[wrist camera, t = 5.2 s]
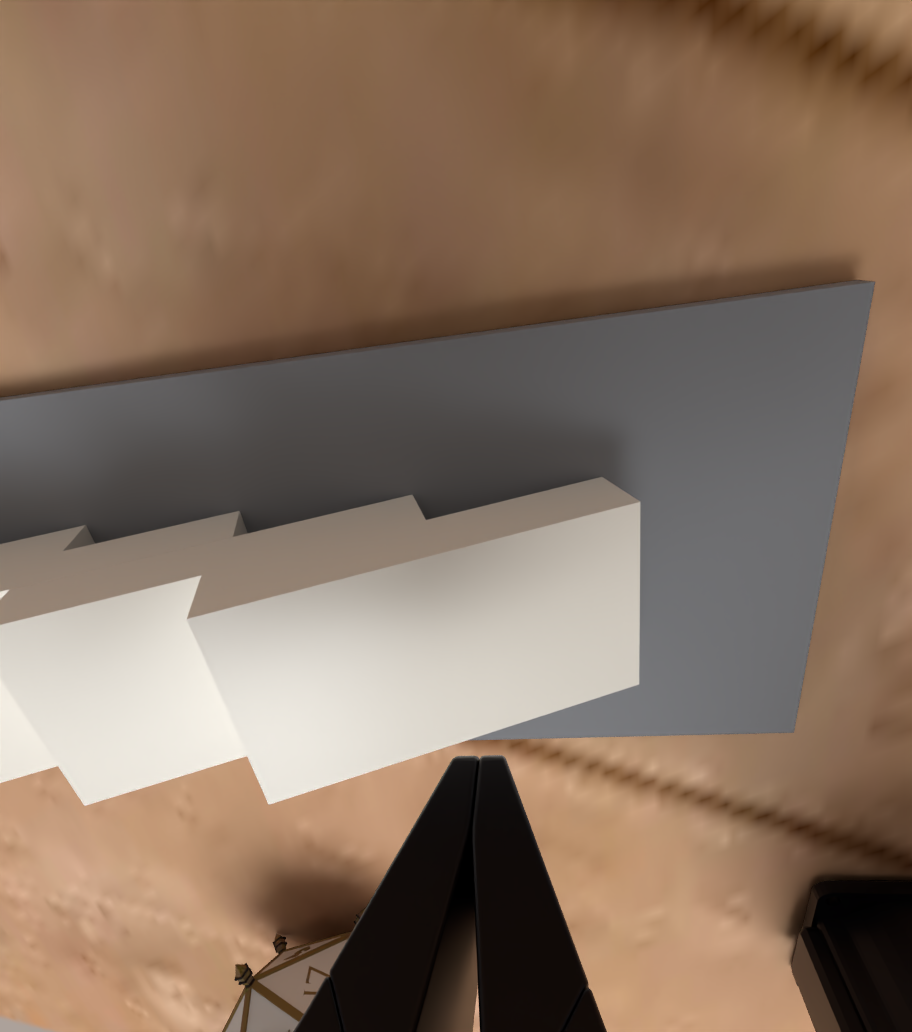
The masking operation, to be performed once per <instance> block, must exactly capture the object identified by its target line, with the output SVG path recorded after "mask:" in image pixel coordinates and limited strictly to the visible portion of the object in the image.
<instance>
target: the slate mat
mask: <svg viewBox="0 0 912 1032" xmlns="http://www.w3.org/2000/svg"><path fill="white" fill-rule="evenodd" d="M874 285H875V282H873V281H862V280H854V281H846V282H839V283H832V284H824V285H817V286H810V287H803V288H795V289H788V290H781V291H773V292H766V293H759V294H752V295H744V296H737V297H730V298H722V299H715V300H708V301H701V302H693V303H686V304H679V305H671V306H664V307H657V308H650V309H642V310H635V311H628V312H620V313H613V314H606V315H598V316H591V317H584V318H577V319H569V320H562V321H555V322H547V323H540V324H533V325H526V326H518V327H511V328H504V329H496V330H489V331H482V332H475V333H467V334H460V335H453V336H445V337H438V338H431V339H424V340H416V341H409V342H402V343H394V344H387V345H380V346H373V347H365V348H358V349H351V350H343V351H336V352H329V353H321V354H314V355H307V356H300V357H292V358H285V359H278V360H270V361H263V362H256V363H249V364H241V365H234V366H227V367H219V368H212V369H205V370H198V371H190V372H183V373H176V374H168V375H161V376H154V377H147V378H139V379H132V380H125V381H117V382H110V383H103V384H96V385H88V386H81V387H74V388H66V389H59V390H52V391H45V392H37V393H30V394H23V395H15V396H8V397H1V398H0V544H3V543H8V542H12V541H17V540H21V539H25V538H30V537H34V536H39V535H43V534H48V533H52V532H57V531H61V530H65V529H70V528H74V527H79V526H83V525H86V526H87V528H88V530H89V532H90V534H91V536H92V538H93V540H94V542H95V544H96V543H100V542H105V541H109V540H114V539H118V538H122V537H127V536H131V535H135V534H140V533H144V532H149V531H153V530H157V529H162V528H166V527H171V526H175V525H179V524H184V523H188V522H192V521H197V520H201V519H206V518H210V517H214V516H219V515H223V514H227V513H232V512H236V511H240V513H241V516H242V519H243V522H244V525H245V527H246V530H247V533H252V532H256V531H260V530H265V529H269V528H273V527H277V526H282V525H286V524H290V523H294V522H298V521H303V520H307V519H311V518H315V517H320V516H324V515H328V514H332V513H337V512H341V511H345V510H349V509H353V508H358V507H362V506H366V505H370V504H375V503H379V502H383V501H387V500H391V499H396V498H400V497H404V496H408V495H413V497H414V498H415V500H416V502H417V504H418V506H419V508H420V510H421V512H422V514H423V516H424V517H425V519H426V520H428V519H433V518H437V517H441V516H445V515H449V514H453V513H457V512H461V511H465V510H469V509H473V508H477V507H481V506H485V505H489V504H493V503H498V502H502V501H506V500H510V499H514V498H518V497H522V496H526V495H530V494H534V493H538V492H542V491H546V490H550V489H554V488H558V487H563V486H567V485H571V484H575V483H579V482H583V481H587V480H591V479H595V478H599V477H603V478H605V479H606V480H608V481H609V482H611V483H612V484H614V485H615V486H617V487H619V488H620V489H622V490H623V491H625V492H626V493H628V494H629V495H631V496H632V497H634V498H636V499H637V500H639V501H640V644H639V685H636V686H633V687H630V688H627V689H624V690H620V691H617V692H614V693H611V694H608V695H605V696H602V697H599V698H596V699H593V700H590V701H587V702H584V703H580V704H577V705H574V706H571V707H568V708H565V709H562V710H559V711H556V712H553V713H550V714H547V715H543V716H540V717H537V718H534V719H531V720H528V721H525V722H522V723H519V724H516V725H513V726H510V727H507V728H503V729H500V730H497V731H494V732H491V733H488V734H485V735H482V736H479V737H476V738H473V739H470V740H498V739H541V738H583V737H626V736H669V735H712V734H755V733H794V729H795V723H796V718H797V712H798V707H799V701H800V696H801V690H802V685H803V679H804V673H805V668H806V662H807V657H808V651H809V646H810V640H811V635H812V629H813V624H814V618H815V612H816V607H817V601H818V596H819V590H820V585H821V579H822V574H823V568H824V563H825V557H826V551H827V546H828V540H829V535H830V529H831V524H832V518H833V513H834V507H835V502H836V496H837V490H838V485H839V479H840V474H841V468H842V463H843V457H844V452H845V446H846V440H847V435H848V429H849V424H850V418H851V413H852V407H853V402H854V396H855V391H856V385H857V379H858V374H859V368H860V363H861V357H862V352H863V346H864V341H865V335H866V330H867V324H868V318H869V313H870V307H871V302H872V296H873V291H874Z"/></svg>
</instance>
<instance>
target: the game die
mask: <svg viewBox="0 0 912 1032" xmlns="http://www.w3.org/2000/svg"><path fill="white" fill-rule="evenodd" d="M365 909H366V908H365ZM365 909H364V910H365ZM364 910H363V911H362V912H360V913H359V914H358V915H357V914H356V916H357V918H356V921H354V923H355V926H356V924H357V922H358V921H359V919H360V917H361V916H362V914H363V912H364ZM351 933H352V931H351V932H348V933H344V934H340V935H337V936H333V937H329V938H326V939H322V940H319V941H315V942H311V943H308V944H304V945H300V946H297V947H293V948H289V949H286V945H287V942H285V939H286V937H282V936H281V935H279V934H276V937H275V941H274V942H273V945H274V947H275V950H276V953H277V952H278V955H277V956H276V957H275V958H274V959H273V960H271V961H270V962H269V963H268V964H267V965H266V966H265V967H263V968H262V969H261V970H260V971H259V972H258V973H257V974H256V975H254V976H252V974H253V973H252V971H251V969H250V968H249V967H248V965H247V963H246V964H244V965H240V964H236V977H235V981H237V980H238V981H239V985H241V984H243V985H245V988H244V990H243V992H242V994H241V996H240V998H239V1000H238V1002H237V1004H236V1005H235V1007H234V1009H233V1011H232V1013H231V1015H230V1017H229V1019H228V1021H227V1023H226V1025H225V1027H224V1029H223V1031H222V1032H293V1031H294V1029H295V1028H296V1026H297V1024H298V1023H299V1021H300V1020H301V1018H302V1016H303V1015H304V1013H305V1011H306V1010H307V1008H308V1006H309V1005H310V1003H311V1001H312V999H313V998H314V996H315V994H316V993H317V991H318V989H319V987H320V986H321V984H322V982H323V980H324V979H325V978H326V977H330V974H329V972H330V969H331V967H332V965H333V964H334V962H335V960H336V959H337V957H338V955H339V953H340V952H341V950H342V948H343V947H344V945H345V943H346V941H347V940H348V938H349V936H350V935H351Z"/></svg>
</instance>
